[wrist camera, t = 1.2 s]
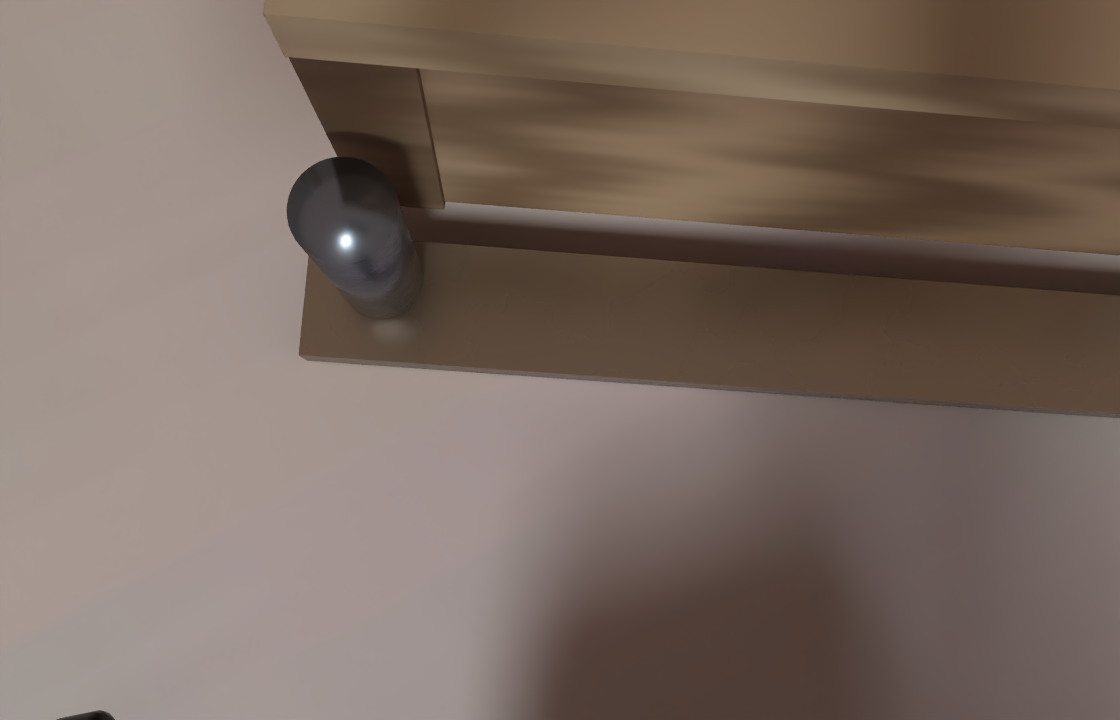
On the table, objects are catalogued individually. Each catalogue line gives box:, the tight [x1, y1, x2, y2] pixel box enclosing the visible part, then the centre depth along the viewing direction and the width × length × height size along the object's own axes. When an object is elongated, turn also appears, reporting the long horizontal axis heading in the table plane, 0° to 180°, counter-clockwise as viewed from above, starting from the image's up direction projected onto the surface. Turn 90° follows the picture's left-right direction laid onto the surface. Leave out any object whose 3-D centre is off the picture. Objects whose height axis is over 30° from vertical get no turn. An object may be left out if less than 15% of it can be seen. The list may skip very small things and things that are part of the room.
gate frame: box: [287, 157, 1120, 418], centre depth 20 cm, size 26×6×12 cm, turn 86°
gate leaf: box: [263, 0, 1120, 255], centre depth 19 cm, size 22×2×10 cm, turn 86°
